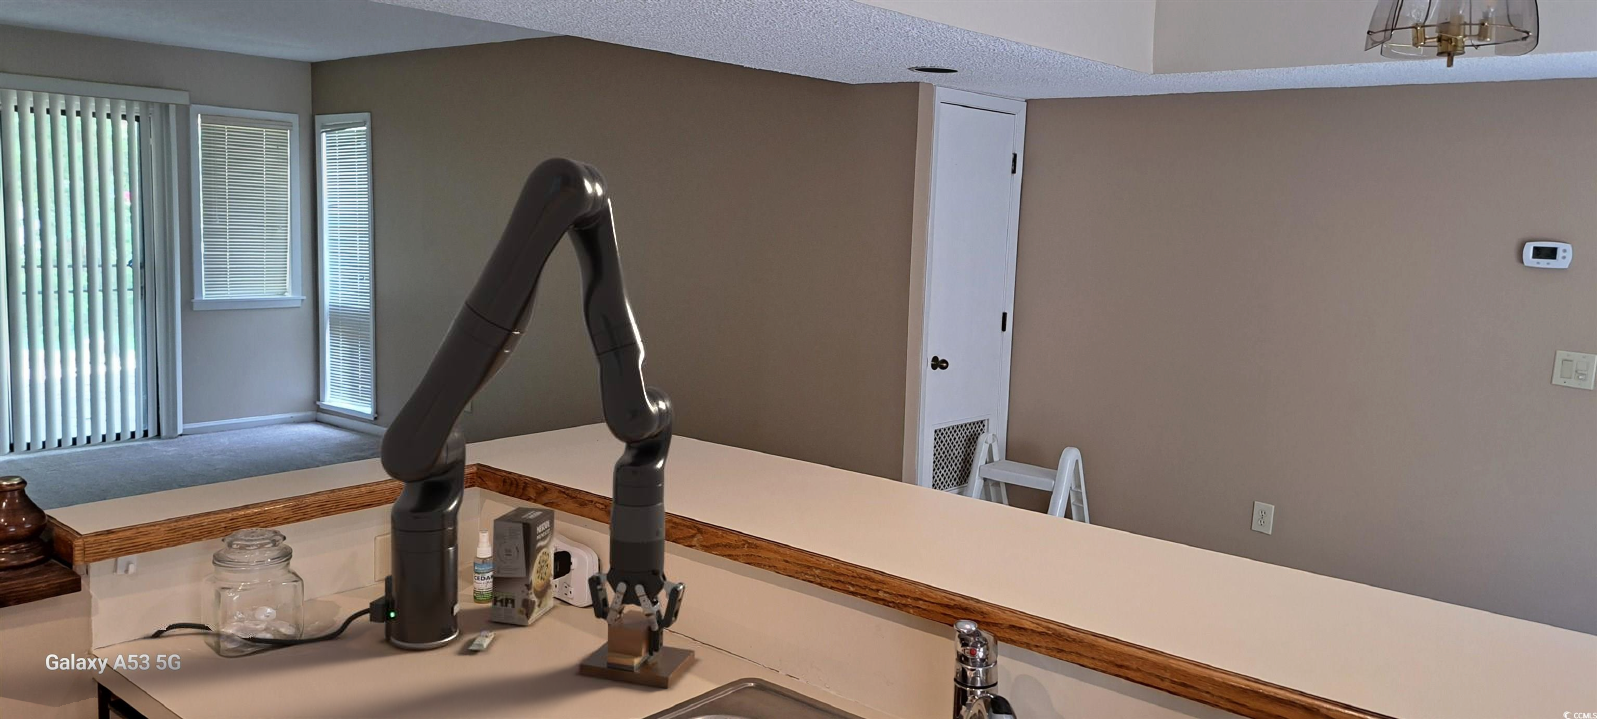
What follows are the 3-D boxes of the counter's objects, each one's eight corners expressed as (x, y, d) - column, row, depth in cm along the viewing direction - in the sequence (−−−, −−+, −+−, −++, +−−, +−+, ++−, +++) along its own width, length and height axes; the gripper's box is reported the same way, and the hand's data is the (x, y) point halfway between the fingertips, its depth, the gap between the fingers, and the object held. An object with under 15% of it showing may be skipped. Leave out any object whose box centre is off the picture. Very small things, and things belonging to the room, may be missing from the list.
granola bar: (484, 653, 151) (484, 645, 151) (468, 652, 151) (468, 645, 151) (497, 635, 158) (497, 628, 157) (481, 634, 158) (481, 627, 157)
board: (579, 673, 145) (579, 663, 145) (610, 647, 155) (611, 637, 155) (668, 688, 142) (668, 677, 142) (694, 660, 152) (695, 650, 152)
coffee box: (529, 626, 162) (530, 523, 160) (490, 621, 163) (491, 519, 161) (554, 606, 171) (556, 508, 169) (517, 602, 172) (518, 504, 170)
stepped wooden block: (633, 640, 154) (633, 605, 153) (665, 645, 153) (666, 610, 152) (602, 666, 144) (603, 629, 144) (636, 672, 143) (637, 634, 143)
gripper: (696, 530, 148) (692, 648, 150) (601, 519, 152) (599, 634, 154) (676, 545, 141) (672, 668, 143) (577, 533, 145) (575, 653, 147)
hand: (634, 650), depth 148 cm, fingers closed on stepped wooden block, 5 cm apart
